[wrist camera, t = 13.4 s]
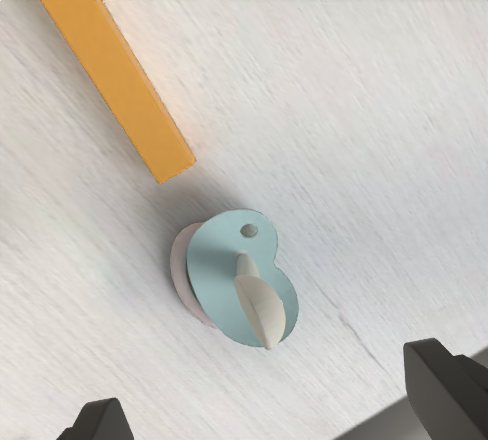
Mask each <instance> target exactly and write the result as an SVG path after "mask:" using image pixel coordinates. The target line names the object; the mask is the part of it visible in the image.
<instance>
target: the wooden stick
mask: <svg viewBox="0 0 488 440" xmlns="http://www.w3.org/2000/svg"><path fill="white" fill-rule="evenodd" d="M40 1H41V2H42V4H43V6H44V7H45V9H46V10H47V12H48V13H49V15H50V16H51V18H52V20H53V21H54V23H55V24H56V26H57V27H58V29H59V30H60V32H61V34H62V35H63V37H64V38H65V40H66V41H67V43H68V44H69V46H70V47H71V49H72V51H73V52H74V54H75V55H76V57H77V58H78V60H79V61H80V63H81V65H82V66H83V68H84V69H85V71H86V72H87V74H88V75H89V77H90V78H91V80H92V82H93V83H94V85H95V86H96V88H97V89H98V91H99V92H100V94H101V96H102V97H103V99H104V100H105V102H106V103H107V105H108V106H109V108H110V110H111V111H112V113H113V114H114V116H115V117H116V119H117V120H118V122H119V123H120V125H121V127H122V128H123V130H124V131H125V133H126V134H127V136H128V137H129V139H130V141H131V142H132V144H133V145H134V147H135V148H136V150H137V151H138V153H139V154H140V156H141V158H142V159H143V161H144V162H145V164H146V165H147V167H148V168H149V170H150V172H151V173H152V175H153V176H154V178H155V179H156V181H157V182H158V183H159V184H160V183H162V182H164V181H166V180H168V179H169V178H171V177H173V176H175V175H176V174H178V173H180V172H182V171H183V170H185V169H187V168H188V167H190V166H192V165H193V164H194V163H195V162H196V158H195V156H194V155H193V153H192V151H191V150H190V148H189V146H188V145H187V143H186V141H185V140H184V138H183V136H182V135H181V133H180V131H179V130H178V128H177V126H176V124H175V123H174V121H173V119H172V118H171V116H170V114H169V113H168V111H167V109H166V108H165V106H164V104H163V103H162V101H161V99H160V97H159V96H158V94H157V92H156V91H155V89H154V87H153V86H152V84H151V82H150V81H149V79H148V77H147V76H146V74H145V72H144V71H143V69H142V67H141V65H140V64H139V62H138V60H137V59H136V57H135V55H134V54H133V52H132V50H131V49H130V47H129V45H128V44H127V42H126V40H125V39H124V37H123V35H122V33H121V32H120V30H119V28H118V27H117V25H116V23H115V22H114V20H113V18H112V17H111V15H110V13H109V12H108V10H107V8H106V7H105V5H104V3H103V1H102V0H40Z"/></svg>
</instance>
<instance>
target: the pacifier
mask: <svg viewBox="0 0 488 440" xmlns="http://www.w3.org/2000/svg"><path fill="white" fill-rule="evenodd" d="M246 224H253V225H255V226H256V227H257V232H256V233H255V234H254V235H253V236H249V237H247V236H243V235H242V234H241V233H240V229H241V228H242V227H243V226H244V225H246ZM277 246H278V238H277V233H276V230H275V228H274V226H273V224H272V223H271V221H270V220H269V219H268V218H267V217H265V216H264V215H263V214H261V213H260V212H257V211H255V210H251V209H244V208H243V209H232V210H227V211H224V212H222V213H219V214H217V215H215V216H213V217H211V218H210V219H208V220H207V221H206V222H200V223H193V224H191V225H189V226H187V227H186V228H184V229H182V231H181V232H180V233H179V234H178V236H177V237H176V238H175V241H174V244H173V246H172V249H171V257H170V267H171V274H172V279H173V282H174V285H175V288H176V291H177V293H178V295H179V296H180V298H181V300H182V302H183V303H184V305H185V306H186V307H187V309H188V310H189V311H190V312H191V313H192V314H193V315H194V316H195V317H196V318H197V319H199V320H200V321H201V322H203V323H204V324H206V325H209V326H211V327H213V328H217V329H219V330H221V331H222V332H223V333H224V334H225V335H226V336H227V337H229V338H231V339H232V340H234V341H236V342H238V343H241V344H245V345H248V346H252V347H264V348H265V349H266V350H270V349H272V348H273V347H274V346H275V345H277V343H279V342H281V341H283V340H284V339H285V338H286V337H287V336H288V335H289V334H290V333H291V331H292V330H293V328H294V326H295V324H296V321H297V316H298V300H297V295H296V292H295V290H294V287H293V285H292V283H291V282H290V280H289V279H288V278H287V276H286V275H285V274H284V273H283V272H282V271H281V270H279V269H278V268H277V267H276V266H275V264H274V258H275V255H276V251H277ZM187 266H188V268H187ZM188 272H189V275H188ZM189 277H190V278H189ZM190 280H191V281H190ZM191 283H192V284H191ZM281 301H282V302H283V304H282V302H281Z"/></svg>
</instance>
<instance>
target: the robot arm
mask: <svg viewBox="0 0 488 440" xmlns="http://www.w3.org/2000/svg"><path fill="white" fill-rule="evenodd" d="M403 352H404V367H405V382H406V391H407V395H408V398H409V401H410V403H411V405H412V408H413V410H414V412H415V413H416V415H417V416H418V418H419V420H420V421H421V423H422V424H423V426H424V428H425V429H426V431H427V432H428V434H429V435H430V437H431V439H432V440H488V369H487V368H486V367H484V366H482V365H480V364H479V363H477V362H475V361H473V360H472V359H470V358H468V357H466V356H465V355H463V354H462V355H457V356H453V355H452V354H451V353H450V352H449V351H448V350H447V349H446V348H445V347H444V346H443V345H442V344H441V343H440V342H439V341H438V340H437V339H435V338H429V339H424V340H418V341H413V342H408V343H405V344H404V347H403ZM56 440H134V437H133V434H132V432H131V429H130V427H129V424H128V422H127V419H126V417H125V414H124V412H123V409H122V407H121V404H120V402H119V400H118V399H117V398H109V399H104V400H98V401H93V402H88V403H86V404H85V405H84V406H83V408H82V410H81V412H80V413H79V415H78V417H77V419H76V421H75V423H74V425H73V427H70V428H66V429H65V430H64V431H63V433H62V434H61V435H60V436H59V437H58V438H57V439H56Z"/></svg>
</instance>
